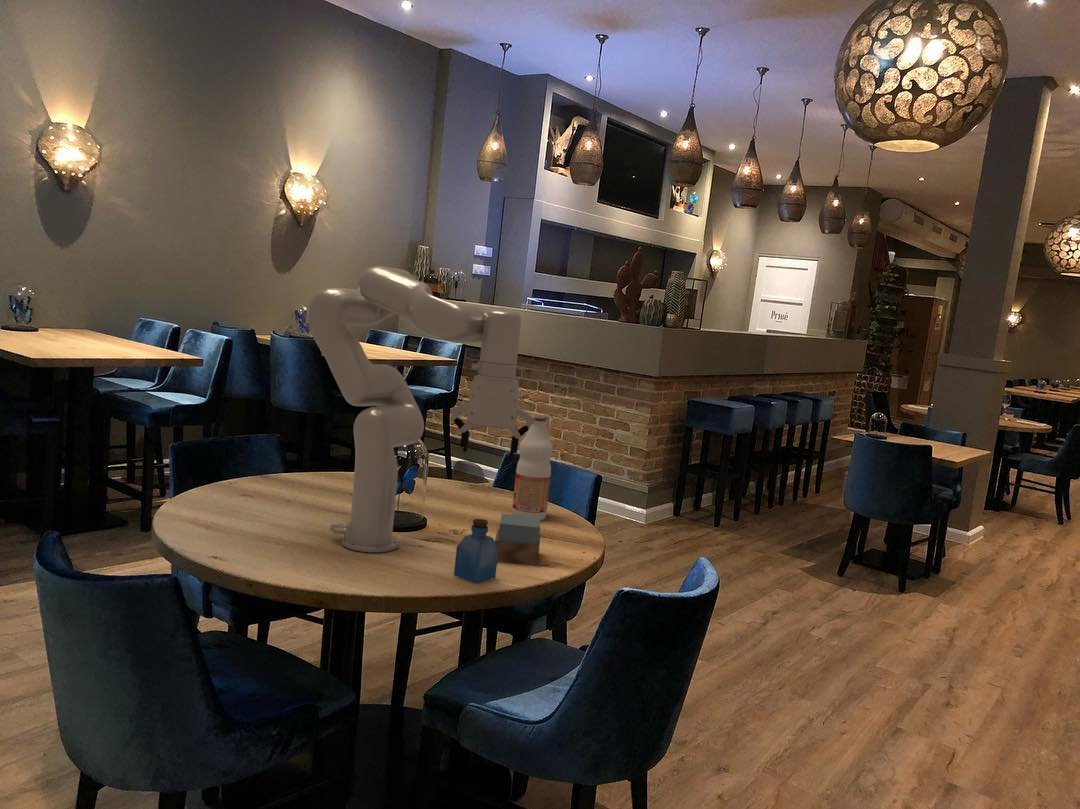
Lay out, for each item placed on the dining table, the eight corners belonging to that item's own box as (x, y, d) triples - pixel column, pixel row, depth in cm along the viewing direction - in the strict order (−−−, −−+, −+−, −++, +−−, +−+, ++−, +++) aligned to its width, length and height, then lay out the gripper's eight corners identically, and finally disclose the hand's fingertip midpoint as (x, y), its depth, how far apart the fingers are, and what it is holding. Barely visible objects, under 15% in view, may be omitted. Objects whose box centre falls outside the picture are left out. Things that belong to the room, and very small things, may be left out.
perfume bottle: (473, 570, 183) (478, 515, 182) (495, 577, 179) (501, 522, 178) (453, 575, 178) (459, 519, 176) (476, 583, 174) (482, 526, 173)
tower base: (492, 562, 191) (494, 540, 190) (495, 549, 200) (497, 529, 200) (537, 567, 191) (539, 545, 190) (537, 554, 200) (540, 533, 200)
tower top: (498, 540, 190) (499, 523, 190) (500, 530, 199) (502, 513, 199) (538, 545, 190) (540, 527, 190) (538, 534, 199) (540, 517, 199)
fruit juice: (525, 523, 227) (537, 419, 223) (504, 514, 234) (515, 413, 231) (552, 520, 233) (564, 419, 229) (531, 511, 240) (541, 413, 237)
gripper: (453, 367, 170) (444, 452, 172) (539, 377, 170) (529, 461, 172) (456, 365, 177) (448, 446, 179) (539, 374, 178) (530, 455, 180)
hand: (488, 453), depth 176 cm, fingers open, 9 cm apart
